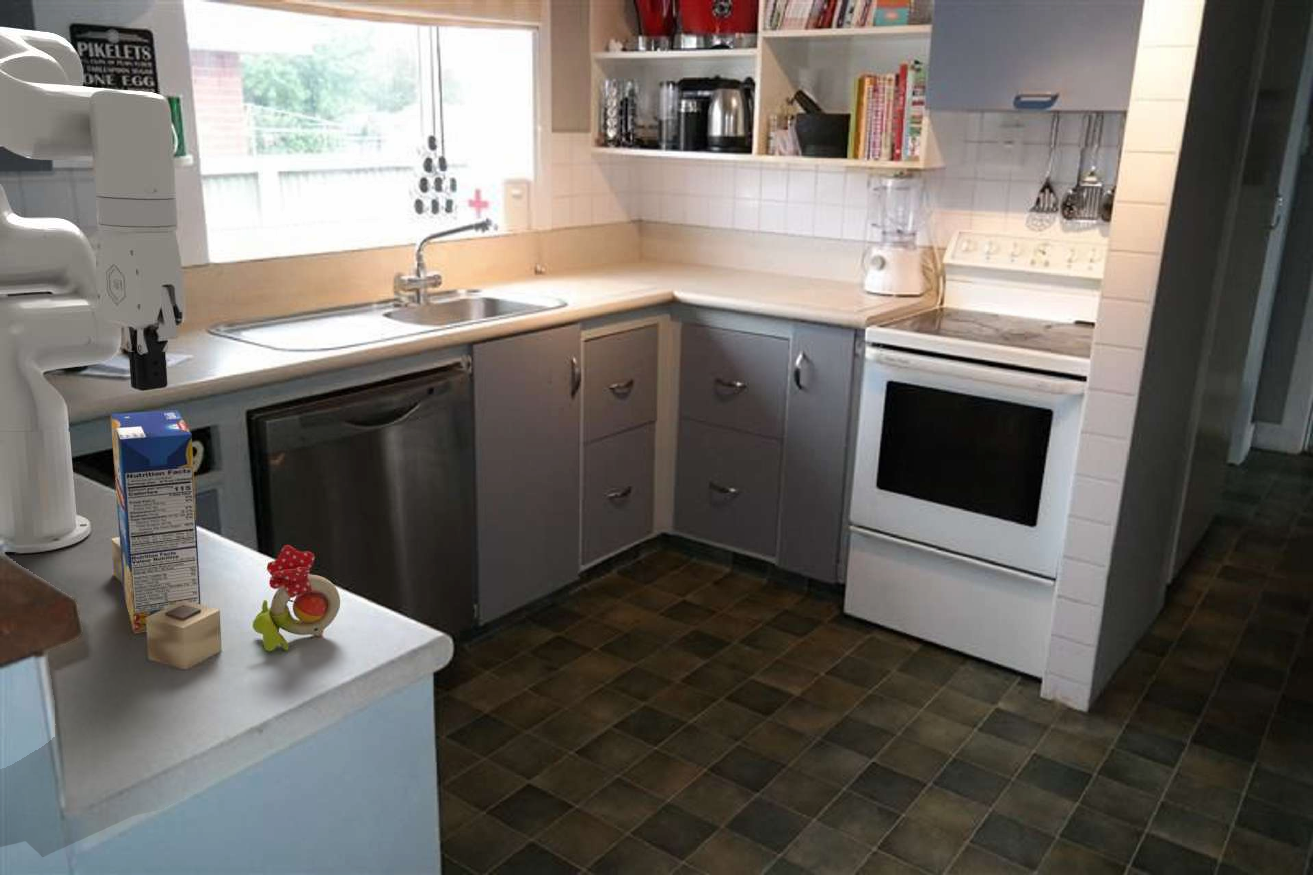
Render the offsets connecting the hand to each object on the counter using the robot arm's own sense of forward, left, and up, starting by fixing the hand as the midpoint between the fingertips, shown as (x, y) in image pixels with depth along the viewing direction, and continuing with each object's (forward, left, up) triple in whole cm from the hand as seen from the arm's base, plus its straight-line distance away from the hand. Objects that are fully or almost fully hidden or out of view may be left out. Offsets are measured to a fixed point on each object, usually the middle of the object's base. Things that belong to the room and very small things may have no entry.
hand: (149, 387), depth 116 cm
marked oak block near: (+12, -4, -26) cm, 29 cm away
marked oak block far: (-10, +3, -26) cm, 28 cm away
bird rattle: (+17, +6, -26) cm, 32 cm away
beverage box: (0, 0, -26) cm, 26 cm away
